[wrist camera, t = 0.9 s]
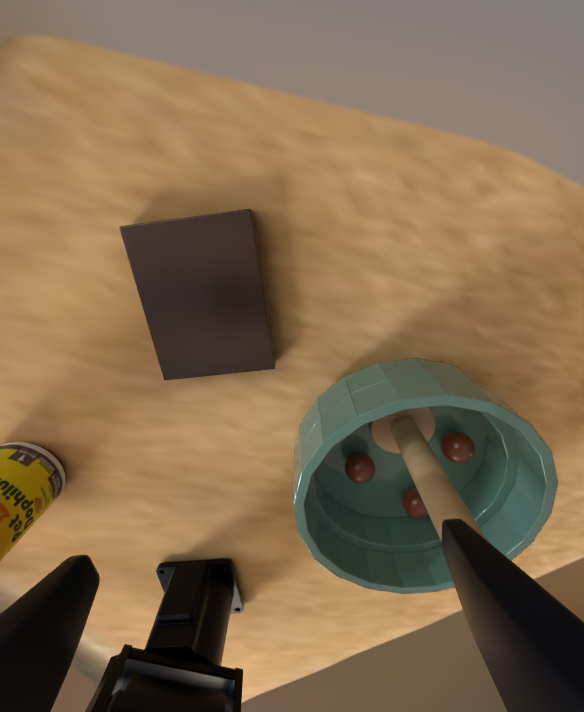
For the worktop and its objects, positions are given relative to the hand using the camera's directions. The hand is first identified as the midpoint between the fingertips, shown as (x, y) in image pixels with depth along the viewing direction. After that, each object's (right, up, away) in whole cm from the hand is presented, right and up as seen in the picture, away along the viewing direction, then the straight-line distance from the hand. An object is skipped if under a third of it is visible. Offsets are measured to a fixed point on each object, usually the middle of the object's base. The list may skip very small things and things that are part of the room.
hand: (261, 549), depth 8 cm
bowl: (+8, -2, +15) cm, 17 cm away
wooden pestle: (+8, +1, +13) cm, 15 cm away
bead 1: (+5, -3, +14) cm, 15 cm away
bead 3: (+11, -1, +13) cm, 17 cm away
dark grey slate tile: (-4, +8, +11) cm, 15 cm away
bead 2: (+9, -5, +15) cm, 18 cm away
